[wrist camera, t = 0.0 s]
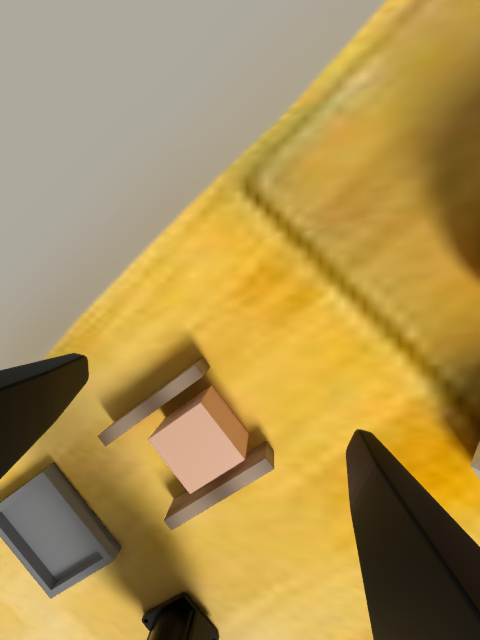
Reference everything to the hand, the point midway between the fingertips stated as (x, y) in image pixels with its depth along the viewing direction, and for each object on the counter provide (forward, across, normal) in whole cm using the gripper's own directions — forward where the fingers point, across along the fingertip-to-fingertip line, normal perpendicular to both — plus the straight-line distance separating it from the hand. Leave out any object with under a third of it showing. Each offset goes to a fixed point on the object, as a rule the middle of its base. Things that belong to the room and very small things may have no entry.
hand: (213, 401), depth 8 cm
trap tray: (+8, +16, +30) cm, 35 cm away
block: (+13, +2, +14) cm, 19 cm away
